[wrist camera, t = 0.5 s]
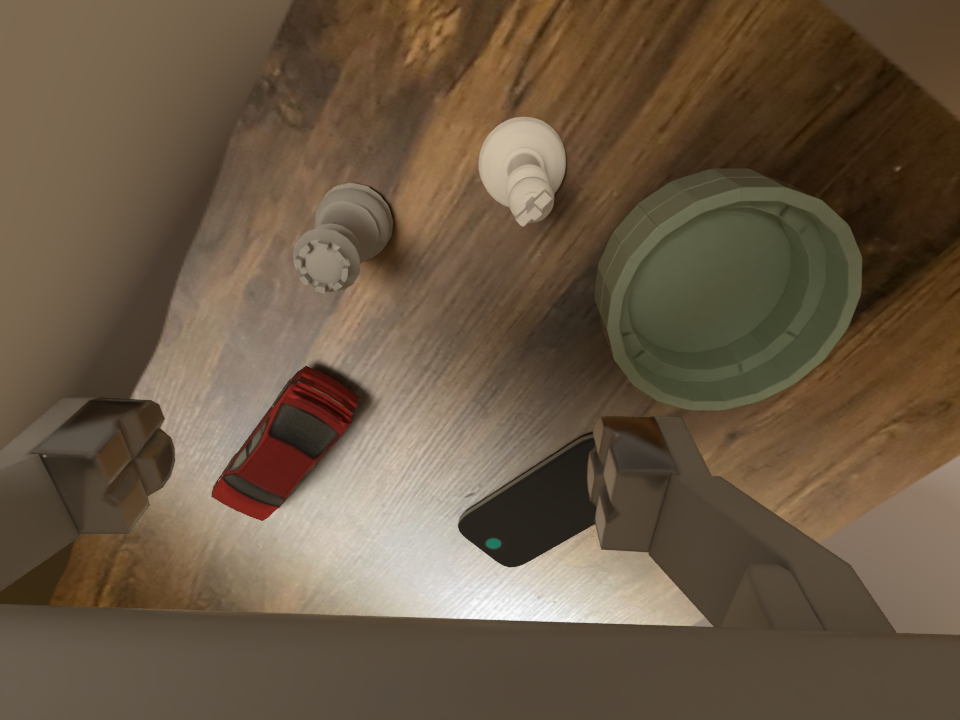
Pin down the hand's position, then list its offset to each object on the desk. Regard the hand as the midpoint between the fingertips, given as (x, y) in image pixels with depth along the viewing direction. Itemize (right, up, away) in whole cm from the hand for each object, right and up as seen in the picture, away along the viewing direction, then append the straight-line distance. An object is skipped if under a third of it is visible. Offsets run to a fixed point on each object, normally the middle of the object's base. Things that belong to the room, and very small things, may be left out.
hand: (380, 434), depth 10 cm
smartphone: (+8, -10, +34) cm, 36 cm away
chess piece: (+4, +13, +21) cm, 25 cm away
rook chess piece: (-6, +10, +22) cm, 25 cm away
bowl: (+16, +7, +24) cm, 29 cm away
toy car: (-13, -4, +31) cm, 34 cm away
